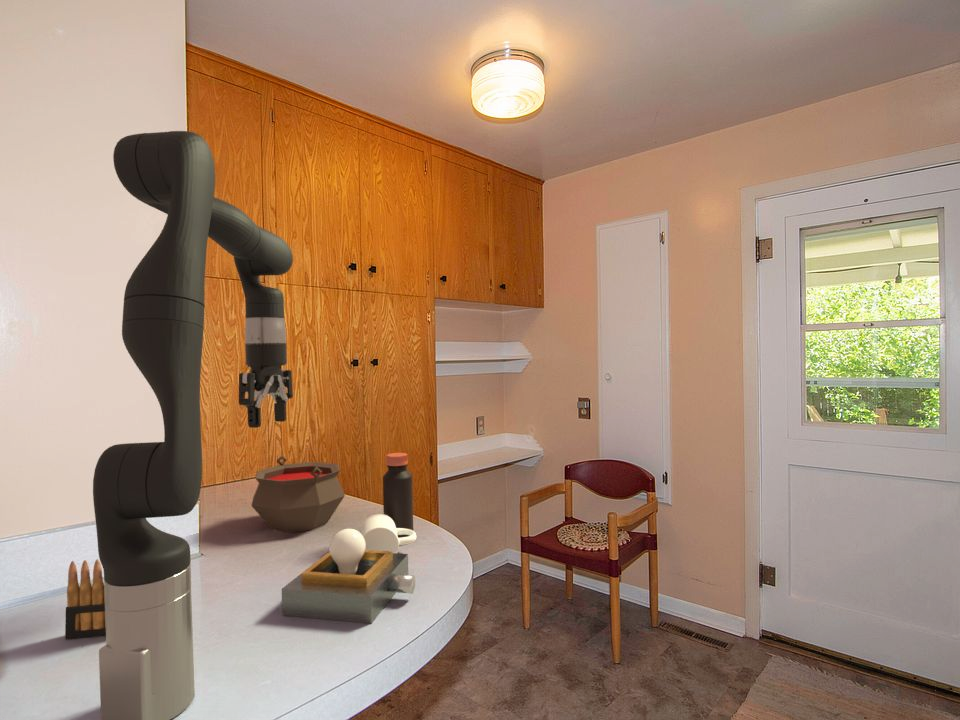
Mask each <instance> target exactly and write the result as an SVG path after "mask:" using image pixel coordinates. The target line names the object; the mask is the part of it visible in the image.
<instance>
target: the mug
mask: <svg viewBox="0 0 960 720" xmlns="http://www.w3.org/2000/svg"><path fill="white" fill-rule="evenodd" d="M359 532H360V533H361V534H362V535H363V537H364V539H365V543H366V548H365V550H374V551H390V552H393V553H398V551H399V549H400V546H403V545H404V546H405V545H408V544H412V543H413V542H415V541H416V539H417V533H416V532H415V531H414V529H413V530H410V529H405V528H396V526H395V523H394V521H393V520H392V519H391V518H390V517H389V516H388V515H385V514H384V513H381V512H379V513H373V514H370V515H369V516H367V517H366V518H365V519H364V520H363V522H362V523H361V525H360V528H359ZM398 535H410V536H408V537H402V538H398Z"/></svg>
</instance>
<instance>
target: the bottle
mask: <svg viewBox="0 0 960 720" xmlns="http://www.w3.org/2000/svg"><path fill="white" fill-rule="evenodd" d="M385 458H386V468H387V471H386V472H385V473H384V475H383V476H382V498H383V499H382V504H383V508H382V509H383V514H385V515H388V516H389V517H390V518H391V519H392V520H393V521H394V523H395V526H396V528H405V529H410V530H413V531H414V505H413V504H414V499H413V497H414V495H413V475H412V474H411V473H410V471H409V470H408V469H407V467H408V464H409V457H408V453H406V452H392V453H388V454H386V456H385ZM408 536H410V535H398V538H402V537H408Z"/></svg>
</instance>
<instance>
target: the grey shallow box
mask: <svg viewBox="0 0 960 720" xmlns="http://www.w3.org/2000/svg"><path fill="white" fill-rule="evenodd" d="M415 588H416V576H415V575H413V574H409V554H408V553H398V552H397V553H393V552H390V551H374V550H365V552H364V555H363V557H362V558H361V560H360V562H359V564H358V569H357V572H356V575H351V574H340V572H339V569H338V566H337V564H336V563H335V561H334V560H333V559H332V557H331V555H330V550H329V551H328V552H327V553H326V554H324V555H323V556H322V557H321V558H319V559H317V561H315V562H314V563H313V564H312V565H310V566H308V568H307V569H305V570H304V571H302V572H301V573H300V574H299V575H297V576H296V577H295V578H293V579H292V580H291V581H290V582H288V583H287V584H286V585H284V587H282V588H281V615H282V616H284V617H295V618H296V617H297V618H305V619H318V620H327V621H328V620H329V621H337V622H338V621H339V622H340V621H341V622H351V623H362V624H370V625H371V624H372V623H374V621H375V620H376V618H377V617H379V615H380V614H381V612H382V611H383V610H384V609H385V607H386V606H387V605H388V603H389V602H390V601H391V600H392V599H393V597H394V596H395V595H396V594H399V593H400V594H409V595H410V594H411V595H412V594H413V593H414V591H415Z"/></svg>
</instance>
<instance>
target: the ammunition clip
mask: <svg viewBox="0 0 960 720" xmlns="http://www.w3.org/2000/svg"><path fill="white" fill-rule="evenodd" d="M102 569H103V568H102V564H101V562H100V559H98V558H97V559H96V560H95V562H94V564H93V569H92V580H91V574H90V573H91V572H90V571H91V570H90V566H89V564H88V562H87V560H83V562H82V564H81V568H80V581H79V578H78V569H77V565H76V564H75V561H73V560H72V561H70V564H69V567H68V574H67V575H68V576H67V589H66V598H67V599H66V604H67V605H66V607H65V622H64V623H65V626H64V627H65V629H64V633H65V634H64V640H65V641H68V640H69V641H70V640H79V639H90V638H102V637H106V623H105V591H104V576H103V570H102ZM79 582H80V583H79Z"/></svg>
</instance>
